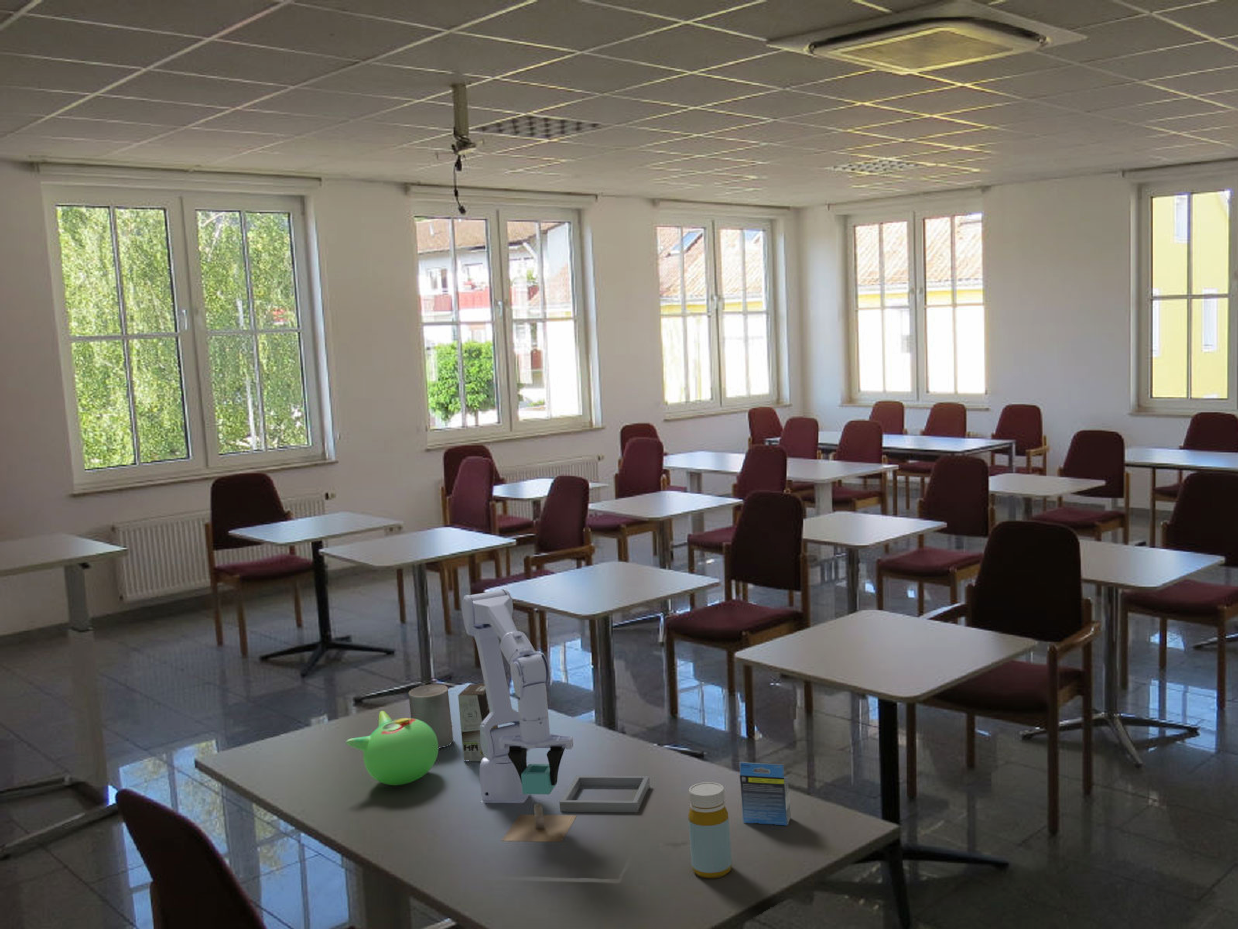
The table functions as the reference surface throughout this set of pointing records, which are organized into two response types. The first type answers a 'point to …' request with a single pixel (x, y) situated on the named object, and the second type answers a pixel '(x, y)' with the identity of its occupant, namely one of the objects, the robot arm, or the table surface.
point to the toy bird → (398, 750)
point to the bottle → (709, 830)
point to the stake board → (540, 835)
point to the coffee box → (473, 719)
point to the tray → (605, 782)
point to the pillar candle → (433, 710)
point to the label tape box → (764, 794)
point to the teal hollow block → (537, 779)
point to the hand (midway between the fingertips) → (539, 783)
